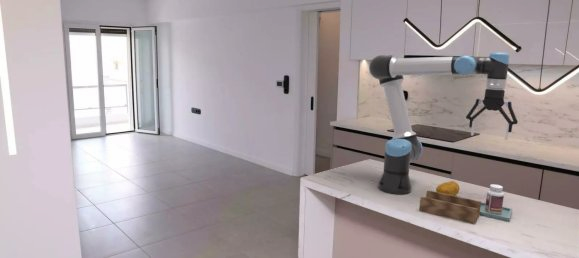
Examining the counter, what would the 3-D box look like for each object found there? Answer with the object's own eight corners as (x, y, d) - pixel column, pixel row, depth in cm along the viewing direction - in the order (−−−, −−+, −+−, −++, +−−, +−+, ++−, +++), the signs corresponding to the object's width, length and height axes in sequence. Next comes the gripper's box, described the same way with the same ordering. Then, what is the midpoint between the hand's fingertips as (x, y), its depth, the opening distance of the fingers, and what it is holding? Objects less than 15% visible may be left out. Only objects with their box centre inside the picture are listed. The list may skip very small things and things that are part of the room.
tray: (474, 214, 164) (474, 210, 164) (479, 205, 175) (479, 201, 174) (509, 221, 157) (509, 218, 157) (512, 212, 168) (512, 208, 168)
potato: (430, 198, 181) (432, 183, 180) (448, 192, 190) (449, 178, 188) (445, 203, 175) (446, 187, 174) (462, 197, 184) (464, 182, 183)
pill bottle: (504, 212, 165) (508, 187, 163) (496, 215, 162) (500, 189, 160) (489, 207, 170) (493, 182, 168) (481, 210, 167) (485, 185, 165)
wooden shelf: (419, 210, 166) (420, 196, 165) (425, 203, 174) (427, 190, 173) (475, 224, 154) (477, 209, 153) (479, 215, 163) (481, 201, 162)
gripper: (462, 87, 177) (457, 134, 180) (528, 91, 163) (520, 142, 167) (465, 86, 183) (460, 132, 187) (529, 90, 169) (521, 140, 173)
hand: (488, 137), depth 177 cm, fingers open, 13 cm apart
